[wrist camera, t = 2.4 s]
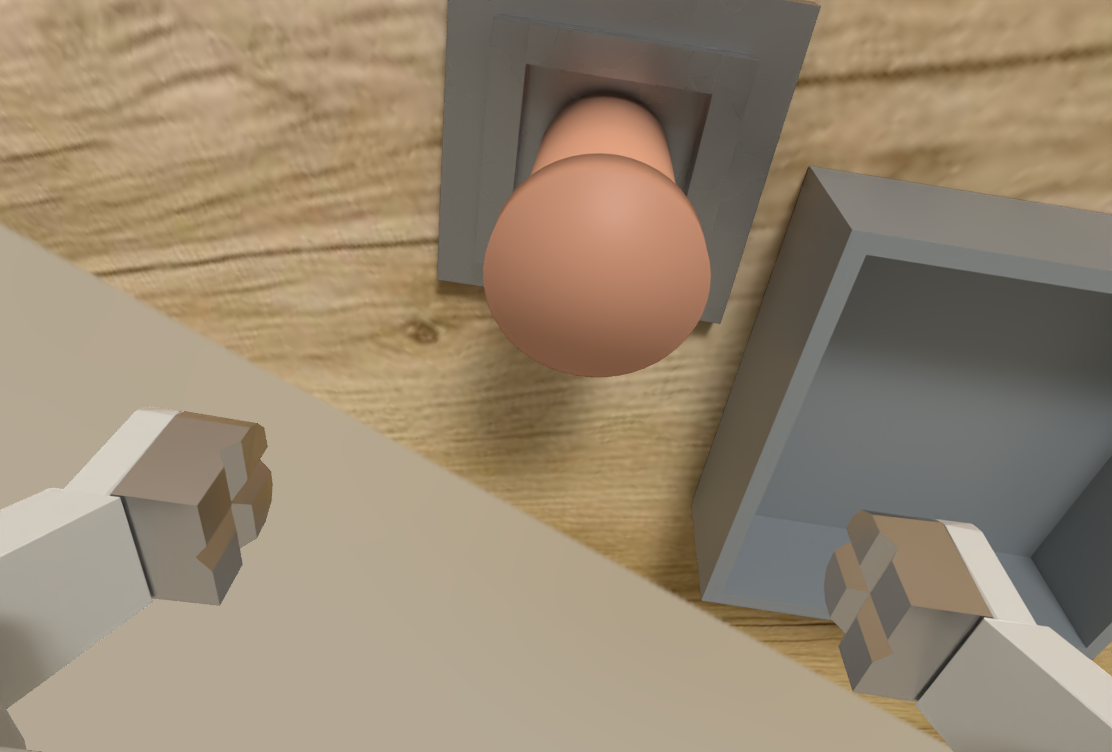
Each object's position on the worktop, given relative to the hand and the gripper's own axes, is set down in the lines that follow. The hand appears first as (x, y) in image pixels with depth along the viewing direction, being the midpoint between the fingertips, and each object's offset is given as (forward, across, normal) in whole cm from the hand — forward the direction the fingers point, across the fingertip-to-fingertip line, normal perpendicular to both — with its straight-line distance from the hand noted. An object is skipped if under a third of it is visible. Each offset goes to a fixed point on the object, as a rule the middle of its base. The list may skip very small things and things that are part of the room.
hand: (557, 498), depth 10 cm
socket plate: (+15, 0, 0) cm, 15 cm away
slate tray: (+15, -14, +7) cm, 22 cm away
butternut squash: (+14, 0, 0) cm, 15 cm away
